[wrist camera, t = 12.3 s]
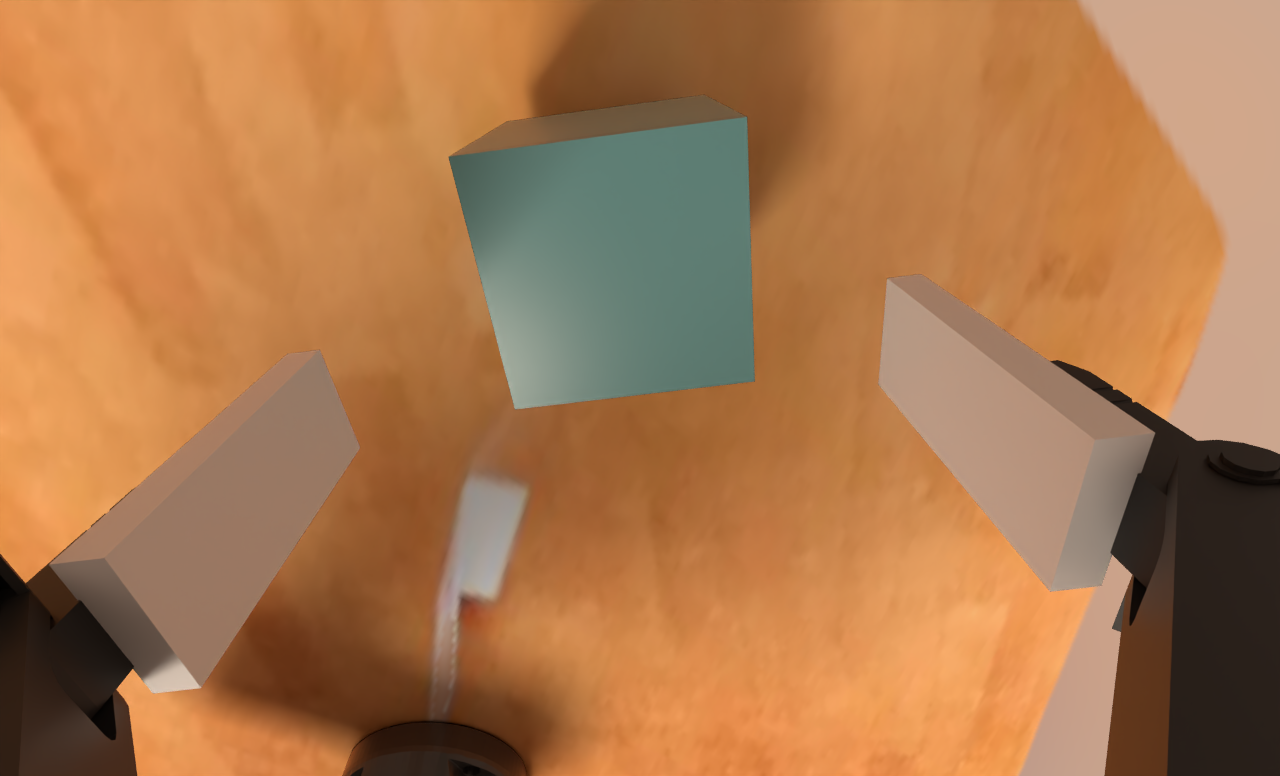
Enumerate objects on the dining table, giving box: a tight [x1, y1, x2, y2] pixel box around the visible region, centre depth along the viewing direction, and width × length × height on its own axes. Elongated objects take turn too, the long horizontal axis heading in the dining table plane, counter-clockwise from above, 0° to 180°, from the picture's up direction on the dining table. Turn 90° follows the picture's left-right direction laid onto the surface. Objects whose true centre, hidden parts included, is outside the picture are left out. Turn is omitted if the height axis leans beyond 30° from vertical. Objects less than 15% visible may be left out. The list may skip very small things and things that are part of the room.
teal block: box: [449, 95, 755, 409], centre depth 22 cm, size 8×8×10 cm
